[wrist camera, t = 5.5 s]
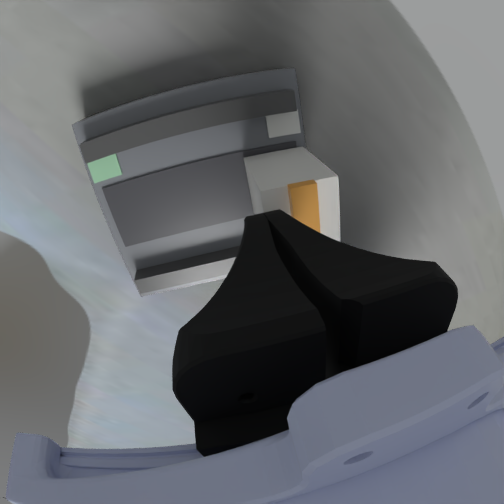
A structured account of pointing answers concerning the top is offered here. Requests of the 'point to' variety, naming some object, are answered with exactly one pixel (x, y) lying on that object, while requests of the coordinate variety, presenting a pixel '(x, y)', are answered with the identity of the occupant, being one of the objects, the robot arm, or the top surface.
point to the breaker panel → (186, 171)
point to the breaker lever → (296, 188)
